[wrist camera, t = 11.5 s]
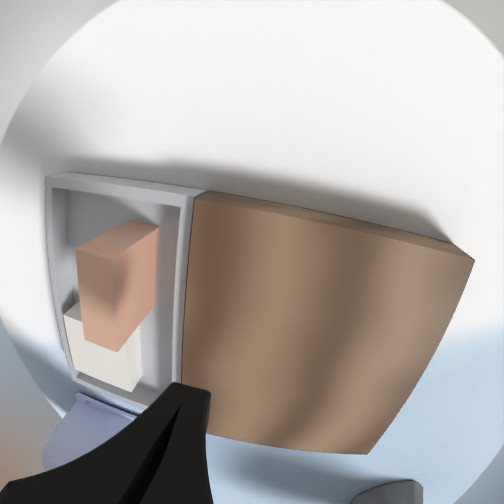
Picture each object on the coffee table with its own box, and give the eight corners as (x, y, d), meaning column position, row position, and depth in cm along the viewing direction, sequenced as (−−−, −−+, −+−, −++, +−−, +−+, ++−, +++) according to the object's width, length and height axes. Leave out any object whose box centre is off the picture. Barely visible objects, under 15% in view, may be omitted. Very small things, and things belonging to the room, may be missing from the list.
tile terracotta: (155, 304, 18) (127, 296, 18) (160, 226, 16) (128, 220, 16) (117, 352, 13) (84, 339, 13) (112, 258, 12) (75, 248, 12)
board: (190, 403, 21) (181, 426, 19) (209, 190, 16) (195, 198, 13) (363, 430, 20) (367, 454, 18) (454, 244, 15) (475, 260, 12)
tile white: (131, 392, 18) (142, 374, 20) (125, 337, 17) (139, 320, 19) (74, 368, 19) (87, 354, 21) (63, 314, 17) (79, 301, 19)
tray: (83, 366, 22) (72, 380, 20) (65, 171, 16) (45, 176, 14) (187, 402, 21) (180, 420, 19) (206, 190, 16) (194, 196, 14)
